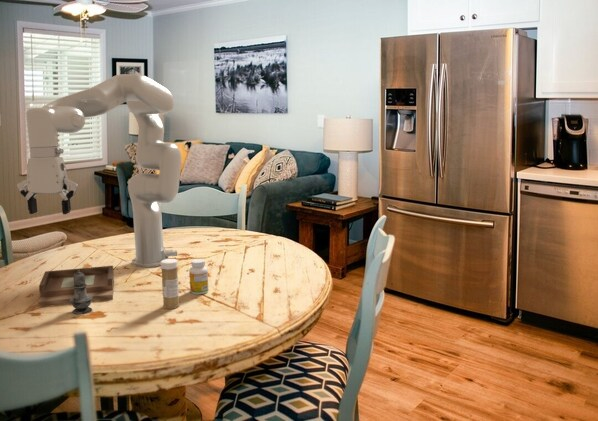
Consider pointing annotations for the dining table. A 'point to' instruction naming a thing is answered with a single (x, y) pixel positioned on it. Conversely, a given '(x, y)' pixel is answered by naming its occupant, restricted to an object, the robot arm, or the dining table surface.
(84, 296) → the salt shaker
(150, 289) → the dining table surface
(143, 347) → the dining table surface
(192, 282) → the supplement bottle
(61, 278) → the wooden tray
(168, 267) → the sprinkles bottle
